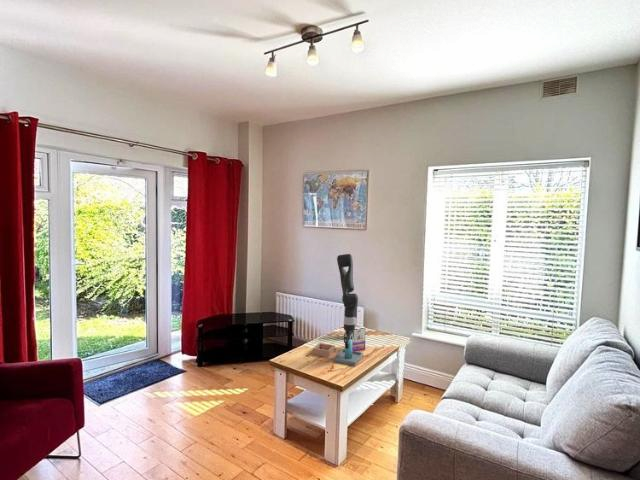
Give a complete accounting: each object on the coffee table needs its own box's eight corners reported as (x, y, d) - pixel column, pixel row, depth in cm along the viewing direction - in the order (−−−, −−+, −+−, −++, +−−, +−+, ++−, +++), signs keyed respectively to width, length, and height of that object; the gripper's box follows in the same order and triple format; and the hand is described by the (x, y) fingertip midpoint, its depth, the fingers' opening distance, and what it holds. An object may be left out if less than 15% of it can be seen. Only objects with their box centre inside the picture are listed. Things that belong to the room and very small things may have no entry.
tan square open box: (319, 348, 249) (319, 342, 249) (334, 351, 244) (335, 345, 244) (312, 354, 238) (312, 348, 238) (328, 357, 233) (328, 351, 233)
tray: (342, 352, 243) (342, 349, 243) (362, 356, 237) (363, 352, 237) (333, 361, 226) (333, 358, 226) (354, 365, 220) (355, 362, 220)
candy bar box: (362, 347, 253) (362, 325, 252) (365, 349, 249) (365, 327, 248) (348, 349, 249) (349, 327, 248) (351, 351, 244) (352, 329, 244)
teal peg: (346, 355, 235) (346, 338, 234) (353, 356, 233) (353, 339, 232) (343, 358, 230) (344, 340, 230) (350, 359, 228) (351, 341, 228)
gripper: (347, 319, 238) (347, 342, 239) (340, 324, 225) (339, 349, 226) (357, 320, 235) (357, 344, 236) (351, 326, 222) (350, 350, 223)
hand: (348, 346), depth 231 cm, fingers open, 8 cm apart
